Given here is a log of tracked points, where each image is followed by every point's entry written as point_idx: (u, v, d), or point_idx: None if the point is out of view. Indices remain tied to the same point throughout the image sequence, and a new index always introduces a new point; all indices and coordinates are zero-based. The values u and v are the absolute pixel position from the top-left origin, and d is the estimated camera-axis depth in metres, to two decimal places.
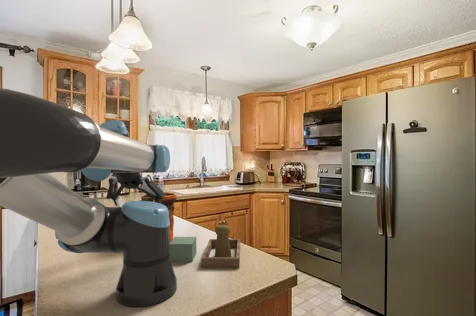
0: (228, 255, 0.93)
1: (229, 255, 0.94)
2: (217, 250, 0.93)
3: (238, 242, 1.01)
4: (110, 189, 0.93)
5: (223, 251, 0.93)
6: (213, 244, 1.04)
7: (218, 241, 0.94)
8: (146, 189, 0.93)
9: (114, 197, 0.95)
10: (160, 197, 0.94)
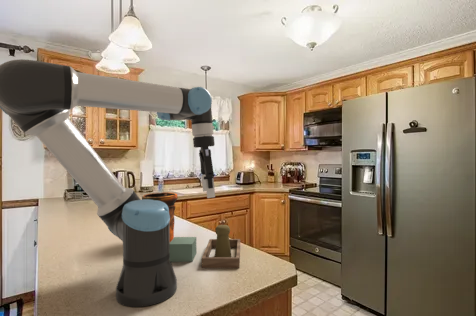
0: (228, 255, 0.93)
1: (229, 255, 0.94)
2: (217, 250, 0.93)
3: (238, 242, 1.01)
4: (200, 161, 1.04)
5: (223, 251, 0.93)
6: (213, 244, 1.04)
7: (218, 241, 0.94)
8: None
9: (201, 170, 1.04)
10: (206, 174, 0.88)
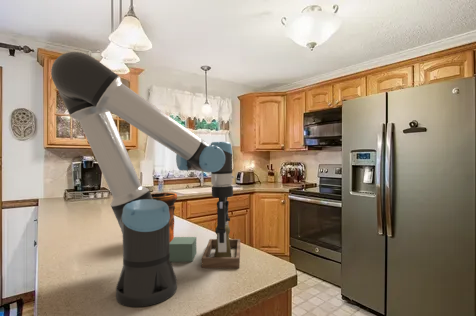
0: (228, 255, 0.93)
1: (229, 255, 0.94)
2: (217, 250, 0.93)
3: (238, 242, 1.01)
4: None
5: None
6: (213, 244, 1.04)
7: None
8: None
9: None
10: (217, 229, 0.86)
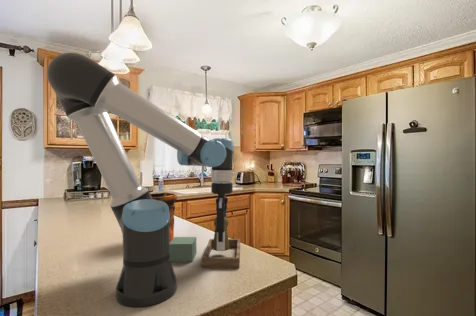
0: (226, 247, 0.93)
1: (227, 247, 0.93)
2: (215, 242, 0.93)
3: (238, 242, 1.01)
4: None
5: None
6: None
7: (216, 233, 0.93)
8: None
9: None
10: None
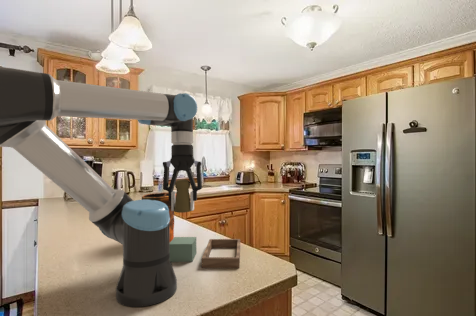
0: None
1: None
2: (187, 203, 0.93)
3: (238, 242, 1.01)
4: (165, 175, 0.93)
5: (190, 203, 0.95)
6: (213, 244, 1.04)
7: (186, 194, 0.93)
8: (191, 175, 0.94)
9: (170, 187, 0.93)
10: (199, 187, 0.93)
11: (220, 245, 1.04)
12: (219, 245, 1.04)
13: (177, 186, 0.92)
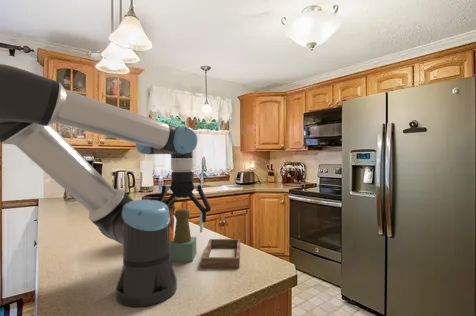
0: None
1: None
2: (186, 234, 0.93)
3: (238, 242, 1.01)
4: (160, 198, 0.94)
5: None
6: (213, 244, 1.04)
7: (186, 225, 0.93)
8: (196, 199, 0.94)
9: None
10: (208, 208, 0.93)
11: (220, 245, 1.04)
12: (219, 245, 1.04)
13: (177, 216, 0.92)
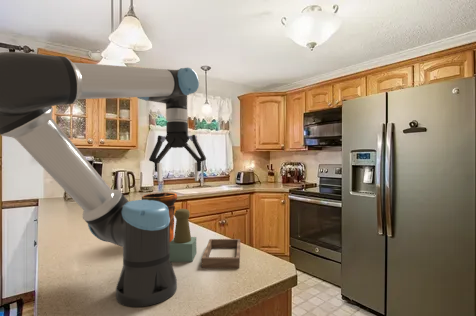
0: None
1: None
2: (186, 234, 0.93)
3: (238, 242, 1.01)
4: (156, 148, 0.96)
5: None
6: (213, 244, 1.04)
7: (186, 225, 0.93)
8: (190, 149, 0.96)
9: (157, 158, 0.96)
10: (202, 157, 0.95)
11: (220, 245, 1.04)
12: (219, 245, 1.04)
13: (177, 216, 0.92)
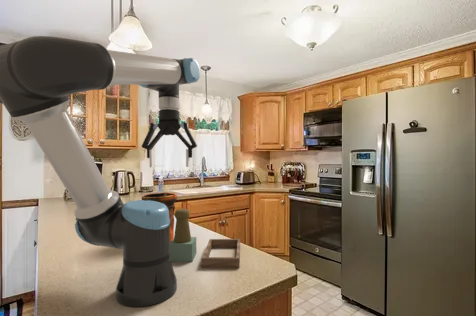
0: None
1: None
2: (186, 234, 0.93)
3: (238, 242, 1.01)
4: (148, 135, 1.00)
5: None
6: (213, 244, 1.04)
7: (186, 225, 0.93)
8: (182, 136, 1.00)
9: (149, 145, 1.00)
10: (194, 144, 0.99)
11: (220, 245, 1.04)
12: (219, 245, 1.04)
13: (177, 216, 0.92)
